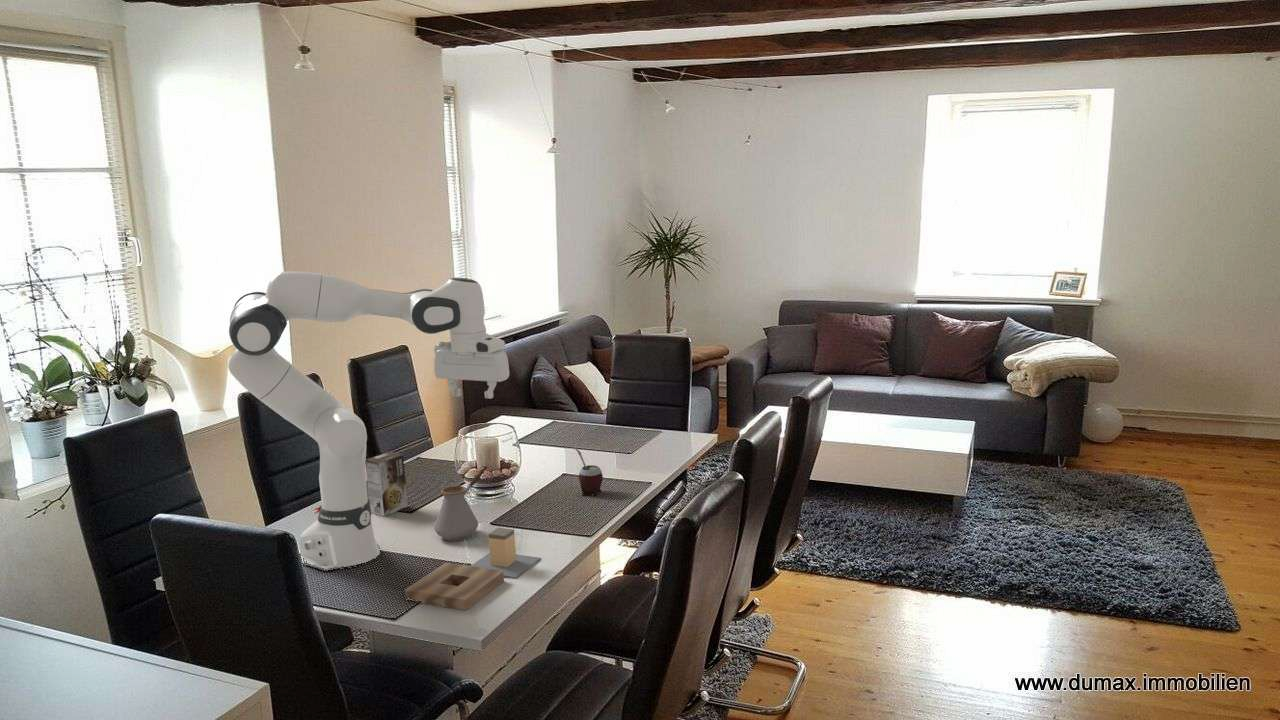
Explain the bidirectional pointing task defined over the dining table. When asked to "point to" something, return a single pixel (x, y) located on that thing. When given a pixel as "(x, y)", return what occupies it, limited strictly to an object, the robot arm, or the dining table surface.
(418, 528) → the dining table surface
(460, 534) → the coffee pot
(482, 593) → the wooden socket board
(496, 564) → the plug
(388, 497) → the coffee box
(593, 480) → the mate gourd
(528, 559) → the slate mat
